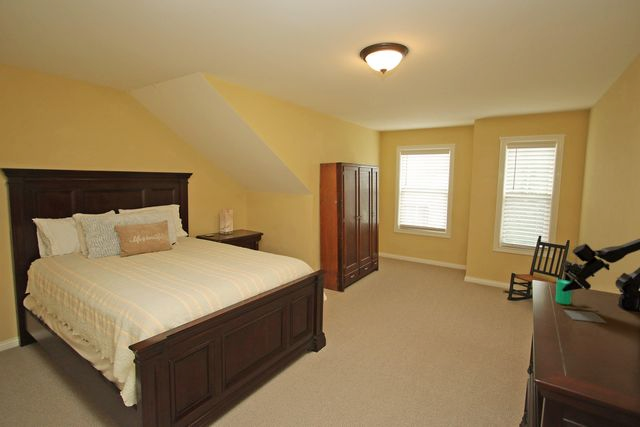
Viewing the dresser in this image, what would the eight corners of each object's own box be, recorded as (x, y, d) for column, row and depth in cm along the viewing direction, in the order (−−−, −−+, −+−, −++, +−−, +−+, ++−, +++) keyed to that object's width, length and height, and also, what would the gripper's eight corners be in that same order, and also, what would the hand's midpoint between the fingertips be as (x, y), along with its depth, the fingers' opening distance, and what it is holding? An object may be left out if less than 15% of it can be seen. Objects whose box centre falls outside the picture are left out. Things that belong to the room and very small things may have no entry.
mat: (594, 313, 149) (594, 312, 149) (606, 323, 139) (606, 322, 139) (563, 310, 152) (563, 309, 152) (572, 319, 143) (572, 319, 143)
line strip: (596, 309, 153) (596, 308, 153) (598, 311, 151) (598, 310, 151) (561, 306, 157) (561, 305, 157) (562, 308, 155) (562, 307, 155)
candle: (552, 301, 164) (554, 277, 163) (560, 299, 166) (561, 275, 165) (566, 305, 158) (567, 280, 157) (573, 303, 161) (575, 279, 160)
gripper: (568, 251, 167) (541, 271, 172) (584, 260, 150) (554, 282, 154) (586, 268, 166) (558, 287, 170) (604, 279, 148) (573, 300, 153)
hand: (560, 288), depth 162 cm, fingers closed on candle, 5 cm apart
